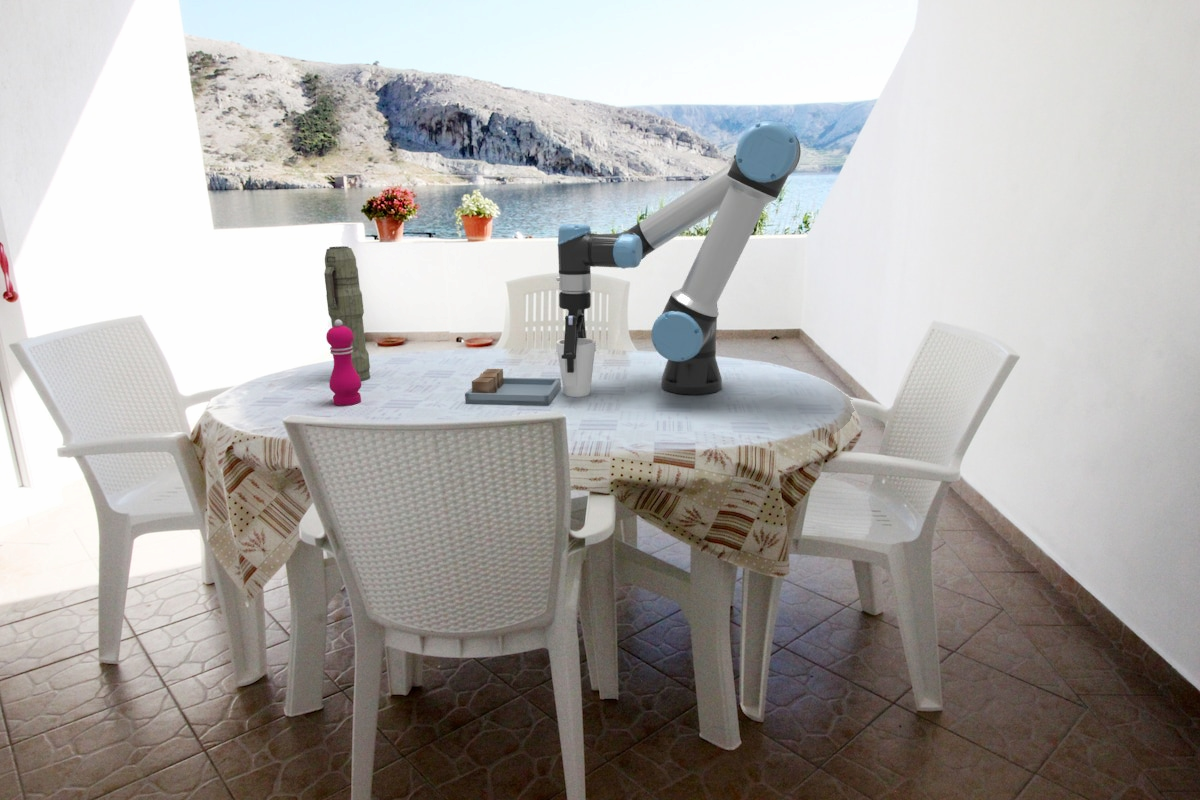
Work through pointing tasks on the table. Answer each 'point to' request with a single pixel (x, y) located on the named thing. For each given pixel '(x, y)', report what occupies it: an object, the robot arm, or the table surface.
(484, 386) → the block
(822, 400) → the table surface
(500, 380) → the block
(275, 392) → the table surface
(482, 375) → the block
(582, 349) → the foam cup
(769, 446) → the table surface
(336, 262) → the carved stone statue
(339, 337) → the pepper mill
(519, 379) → the tray
